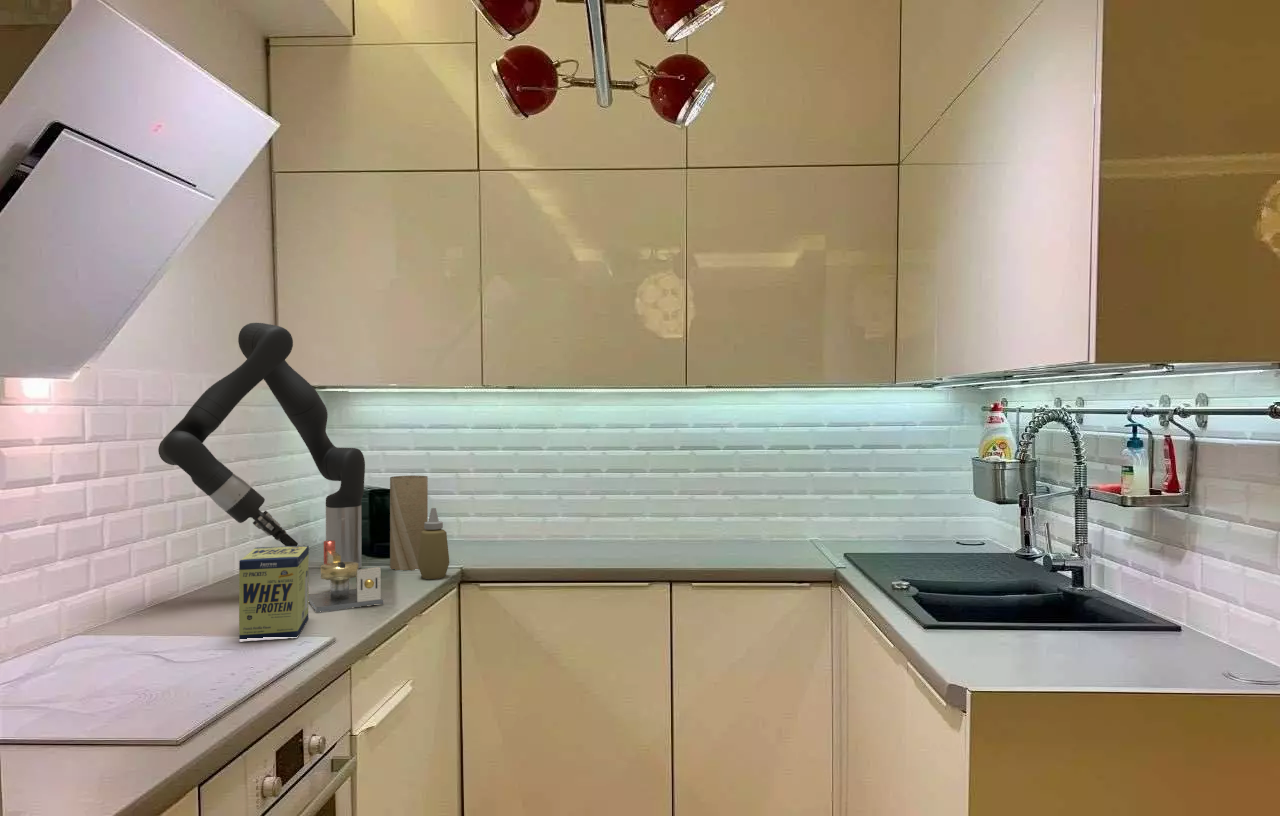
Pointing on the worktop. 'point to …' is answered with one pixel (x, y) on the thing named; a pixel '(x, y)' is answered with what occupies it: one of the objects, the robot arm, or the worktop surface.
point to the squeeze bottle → (433, 549)
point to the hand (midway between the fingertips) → (294, 547)
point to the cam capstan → (336, 564)
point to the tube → (407, 519)
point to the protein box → (273, 592)
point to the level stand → (350, 592)
